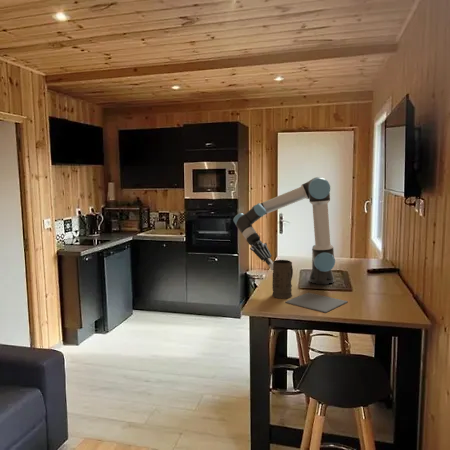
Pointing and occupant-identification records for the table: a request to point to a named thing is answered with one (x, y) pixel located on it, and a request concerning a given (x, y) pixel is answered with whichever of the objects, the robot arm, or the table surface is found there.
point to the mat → (316, 302)
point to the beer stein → (282, 279)
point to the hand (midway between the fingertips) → (274, 268)
